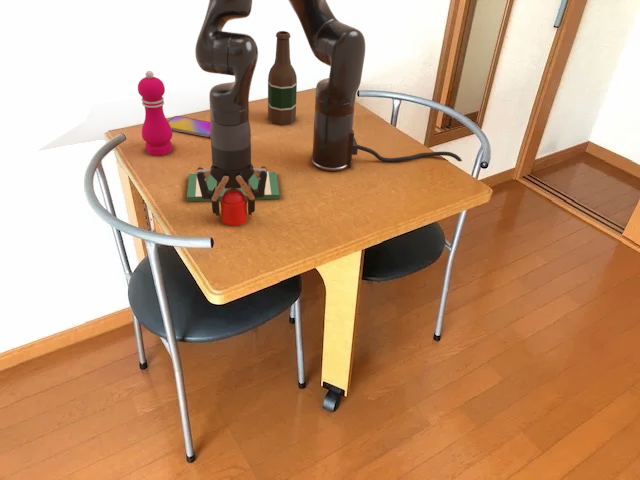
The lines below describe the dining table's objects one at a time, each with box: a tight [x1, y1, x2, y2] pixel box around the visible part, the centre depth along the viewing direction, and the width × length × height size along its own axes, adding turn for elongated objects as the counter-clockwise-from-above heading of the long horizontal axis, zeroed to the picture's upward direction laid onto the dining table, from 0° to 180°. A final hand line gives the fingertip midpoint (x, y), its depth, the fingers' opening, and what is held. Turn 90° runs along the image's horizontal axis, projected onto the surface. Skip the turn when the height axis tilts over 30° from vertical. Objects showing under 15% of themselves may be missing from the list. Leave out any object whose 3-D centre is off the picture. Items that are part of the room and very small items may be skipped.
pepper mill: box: [137, 70, 173, 157], centre depth 131 cm, size 7×7×20 cm
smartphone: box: [167, 115, 211, 138], centre depth 148 cm, size 7×1×15 cm
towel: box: [186, 171, 280, 203], centre depth 125 cm, size 20×10×1 cm, turn 98°
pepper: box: [220, 188, 248, 227], centre depth 113 cm, size 5×5×8 cm
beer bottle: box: [267, 30, 298, 126], centre depth 148 cm, size 8×8×24 cm
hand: (234, 213), depth 115 cm, fingers open, 6 cm apart
